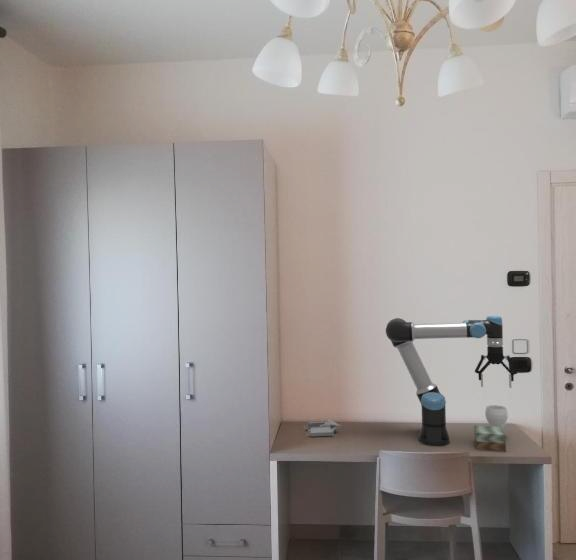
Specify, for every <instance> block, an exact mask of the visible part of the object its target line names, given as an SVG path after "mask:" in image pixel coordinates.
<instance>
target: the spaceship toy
mask: <svg viewBox="0 0 576 560" xmlns="http://www.w3.org/2000/svg"><path fill="white" fill-rule="evenodd" d="M341 426H342V424H338V423H337V422H335V421H333V420H332V419H330V418H328V419H327V421H318V422H317V421H314V422H311V421H310V422H308V423H307V425H303V427H304V428H303V430H305V429H306V430H307V431H308V432H309V431H311V432H309V434H308V432H305V434H306V435H305V436H306V437H307V436H308V437H309V436H310V437H329V436H333V437H334V434H335V433H334V431H336V430H338V429H339V427H341ZM305 427H306V428H305Z"/></svg>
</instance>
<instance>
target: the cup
mask: <svg viewBox="0 0 576 560" xmlns="http://www.w3.org/2000/svg"><path fill="white" fill-rule="evenodd" d="M484 414H485V419H486V421H487V423H488V426H494V427H502V428H503V430H504V431H505V425H506V423H507V421H508V410H507V407H506V406H503V405H497V404H495V405H493V404H492V405H487V406H486V408H485V413H484Z"/></svg>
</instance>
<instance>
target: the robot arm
mask: <svg viewBox="0 0 576 560" xmlns="http://www.w3.org/2000/svg"><path fill="white" fill-rule="evenodd" d="M385 335H386V337H387V339H388V340H390V343H391V344H392V346H393V347H394V348H396V349H397V350H398V352H399V354H400V356H401V358H402V360H403V363H404V365H405V367H406V369H407V371H408V373H409V375H410V377H411V380H412V381H413V384H414V386H415V387H416V392H415V394H416V397H417V398H418V400H419V403H420V406H421V427H420V430H419V435H418V442H420V443H422V444H423V445H426V446H431V447H432V446H435V447H440V446H441V447H442V446H446V445H449V444H450V443H451V439H450V434H449V432H448V429H447V421H446V420H447V419H446V418H447V417H446V416H447V415H446V410H447V409H446V404H447V401H446V397H445V396H444V395H443V394H442V393H441V392H440V389H439V388H438V385H437V384H436V383H433V382H432V379H431V378H430V375H429V374H428V371H427V370H426V367H425V365H424V363H423V361H422V359H421V357H420V355H419V353H418V351H417V349H416V346H415V344H414V343H413V342H414V341H415V340H418V339H419V340H423V339H424V340H426V339H427V340H428V339H456V338H457V339H459V338H461V339H462V338H469V339H470V338H473V339H481V338H484V337H485V336H486V344H487V353H486V354H487V355H484V354H481V355H480V359H479V361H478V363H477V364H476V365H477V366H476V367H475V369H474V373H475V374H478V380H479V381H480V387H481V388H483V387H484V375H483V372H484V371H485V370H486V369H487V368H488V367H489V366H491V365H501V366H503V368H504V369H506V371H507V372H508V373H509V374H508V384H509V385H508V387H509V388H510V389H512V382H514V376H515V375H517V374H518V371H517V370H516V368H515V366H514V363H513V362H512V360H511V357H510V355H504V347H503V345H504V343H503V342H504V341H503V340H504V338H503V337H504V336H503V318H502V317H501V316H499V315H489V316H486V318H485V319H484V320H483V319H479V320H478V319H468V320H467V319H466V320H462V322H445V323H444V322H442V323H440V322H439V323H413V322H412V321H411V322H410V321H406V320H404V319H403V318H400V317H399V318H398V317H397V318H393V319H391V320H389V321H388V323H387V324H386V328H385ZM486 359H487V361H486V363H485V364H484V365H483V362H484V361H485V360H486ZM504 359H505V360H506V361H507V362H508V365H510V368H511V369H512V370H511V369H510V368H509V367H508V366H507V365H506V363H504V361H503V360H504ZM482 365H483V366H482Z"/></svg>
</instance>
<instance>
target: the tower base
mask: <svg viewBox="0 0 576 560" xmlns="http://www.w3.org/2000/svg"><path fill="white" fill-rule="evenodd" d="M473 428H474V430H473V431H474V437H473V438H474V445H475V450H476V451H490V452H501V453H502V452H505V453H506V452H507V451H506V450H507V447H506V443H507V442H506V433H505V429H504V430H503V428H502V427H494V426H489V425H476V424H475V425H474V426H473Z"/></svg>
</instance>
